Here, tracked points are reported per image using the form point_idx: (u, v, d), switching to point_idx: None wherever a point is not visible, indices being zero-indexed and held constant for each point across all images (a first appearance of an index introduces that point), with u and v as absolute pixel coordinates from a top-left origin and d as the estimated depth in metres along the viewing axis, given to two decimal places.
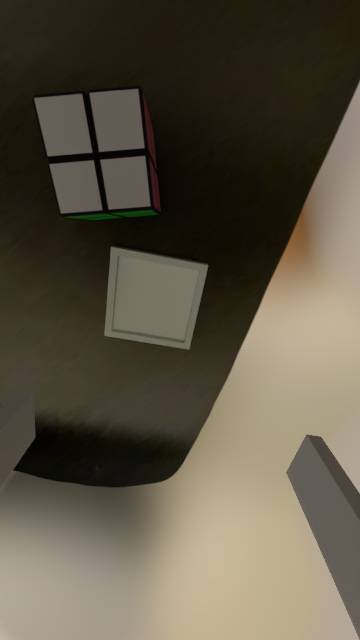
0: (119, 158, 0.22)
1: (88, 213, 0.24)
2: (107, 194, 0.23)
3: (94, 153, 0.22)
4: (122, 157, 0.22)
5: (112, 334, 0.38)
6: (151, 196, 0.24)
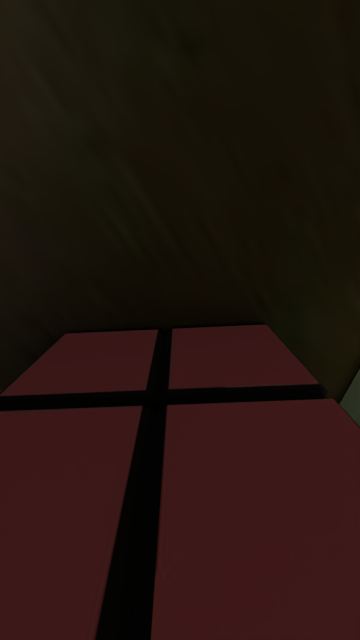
0: None
1: None
2: None
3: None
4: None
5: None
6: None
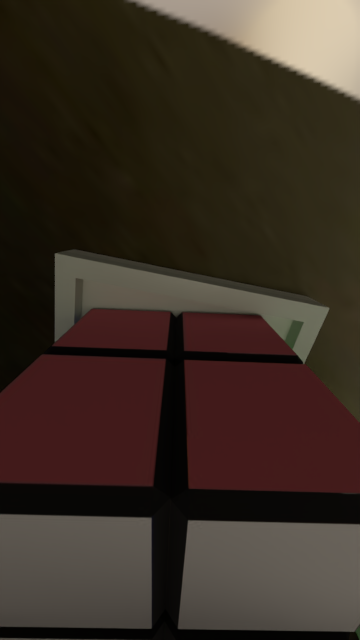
0: (181, 584, 0.05)
1: None
2: (299, 626, 0.06)
3: (152, 627, 0.06)
4: (179, 578, 0.05)
5: None
6: None
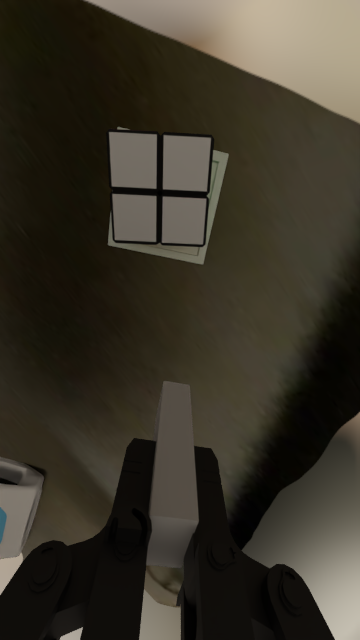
0: (163, 167, 0.22)
1: (206, 216, 0.24)
2: (193, 189, 0.23)
3: (156, 194, 0.23)
4: (162, 163, 0.22)
5: (202, 255, 0.34)
6: (201, 135, 0.21)
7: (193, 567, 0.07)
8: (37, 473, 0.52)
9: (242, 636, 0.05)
